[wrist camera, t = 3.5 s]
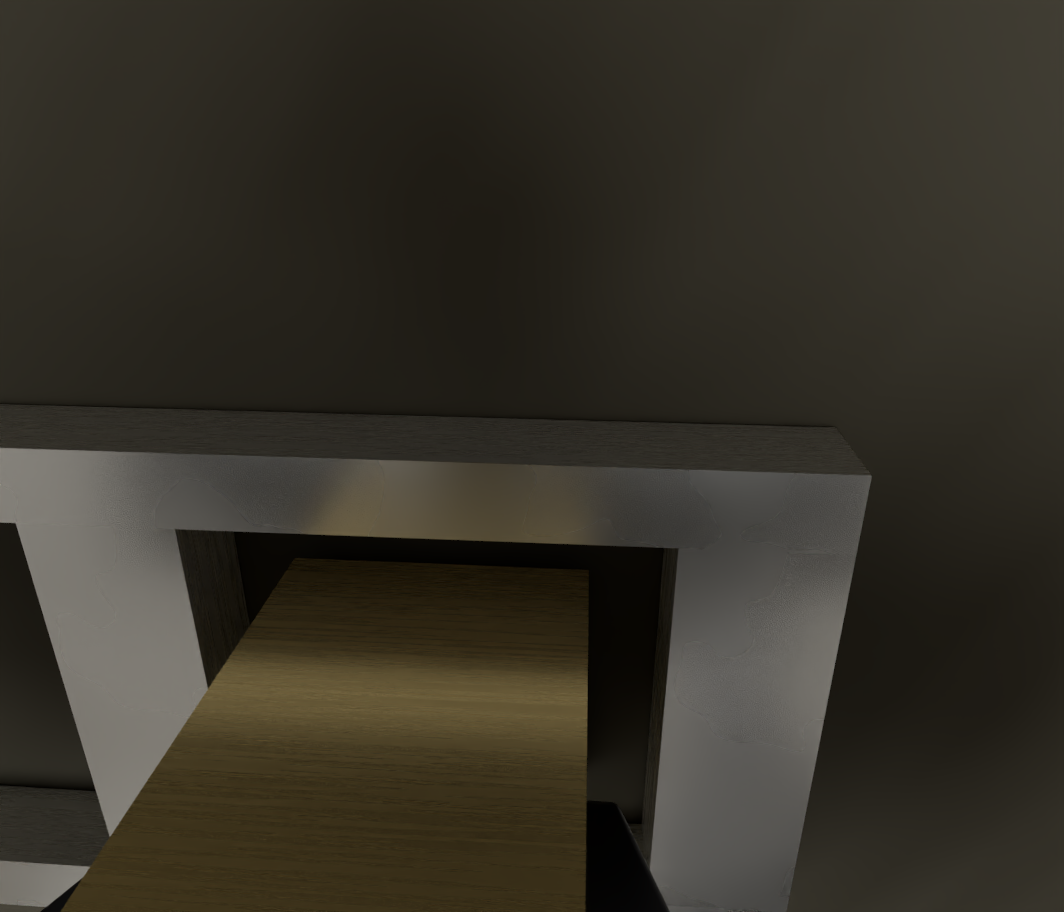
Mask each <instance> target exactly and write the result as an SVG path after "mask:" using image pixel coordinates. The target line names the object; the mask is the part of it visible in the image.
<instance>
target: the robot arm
mask: <svg viewBox="0 0 1064 912" xmlns="http://www.w3.org/2000/svg"><path fill="white" fill-rule="evenodd" d="M81 880H82V878H81V879H80V880H79V881H78V882H76V883H75V884H74V885H73V886H72V887H70V888H69V889H68V890H67V891H65V892H64V893H63V894H62V895H60V896H59V897H58V898H57V899H55V900H54V901H53V902H52V903H50V904H49V905H48V906H47V907H46V908H44V909H43V910H42V911H41V912H61V910H62V909H63V907H64V906H65V904H66V903H67V901H68V899H69V898H70V896H71V895H72V893H73V892H74V890H75V889H76V887H77V886H78V884H79V883H80V881H81ZM585 912H670V910H669V908H668V906H667V904H666V902H665V900H664V898H663V896H662V894H661V892H660V890H659V888H658V886H657V884H656V882H655V879H654V877H653V875H652V873H651V871H650V869H649V867H648V865H647V863H646V861H645V859H644V857H643V855H642V853H641V851H640V849H639V847H638V844H637V842H636V840H635V838H634V836H633V834H632V832H631V830H630V828H629V826H628V824H627V822H626V820H625V818H624V816H623V814H622V811H621V810H620V808H619V807H618V805H617V804H615V803H613V802H601V801H586V891H585Z"/></svg>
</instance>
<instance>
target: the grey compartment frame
mask: <svg viewBox="0 0 1064 912" xmlns="http://www.w3.org/2000/svg"><path fill="white" fill-rule="evenodd" d="M871 478H872V475H871V474H870V472H869V471H868V470H867V468H866V467H865V466H864V464H863V463H862V462H861V460H860V459H859V458H858V456H857V455H856V454H855V452H854V451H853V450H852V448H851V447H850V446H849V445H848V443H847V442H846V441H845V439H844V438H843V437H842V435H841V434H840V433H839V431H838V430H837V429H836V428H832V427H797V426H761V425H725V424H689V423H653V422H618V421H582V420H546V419H510V418H474V417H439V416H403V415H367V414H331V413H295V412H260V411H224V410H188V409H152V408H116V407H81V406H45V405H9V404H0V523H16V526H17V529H18V533H19V536H20V539H21V543H22V546H23V549H24V553H25V556H26V559H27V563H28V566H29V569H30V573H31V576H32V579H33V583H34V586H35V589H36V593H37V596H38V599H39V603H40V606H41V609H42V613H43V616H44V619H45V623H46V626H47V629H48V633H49V636H50V639H51V643H52V646H53V649H54V653H55V656H56V659H57V663H58V666H59V669H60V673H61V676H62V679H63V683H64V686H65V689H66V693H67V696H68V699H69V703H70V706H71V709H72V713H73V716H74V719H75V723H76V726H77V729H78V733H79V736H80V739H81V743H82V746H83V749H84V753H85V756H86V759H87V763H88V766H89V769H90V773H91V776H92V779H93V783H94V786H95V789H96V791H82V790H65V789H49V788H32V787H16V786H0V904H11V905H25V906H39V907H47V906H48V905H49V904H50V903H52V902H53V901H54V900H55V899H57V898H58V897H59V896H60V895H62V894H63V893H64V892H65V891H67V890H68V889H69V888H70V887H72V886H73V885H74V884H75V883H76V882H78V881H79V880H80V879H81V878H83V877H84V875H85V874H86V872H87V871H88V869H89V868H90V866H91V865H92V863H93V862H94V860H95V859H96V857H97V856H98V854H99V853H100V851H101V850H102V848H103V847H104V845H105V844H106V842H107V841H108V839H109V838H110V836H111V835H112V833H113V832H114V830H115V829H116V827H117V826H118V824H119V823H120V821H121V820H122V818H123V817H124V815H125V814H126V812H127V810H128V809H129V807H130V806H131V804H132V803H133V801H134V800H135V798H136V797H137V795H138V794H139V792H140V791H141V789H142V788H143V786H144V785H145V783H146V782H147V780H148V779H149V777H150V776H151V774H152V773H153V771H154V770H155V768H156V767H157V765H158V764H159V762H160V761H161V759H162V758H163V756H164V755H165V753H166V752H167V750H168V749H169V747H170V746H171V744H172V743H173V741H174V740H175V738H176V737H177V735H178V734H179V732H180V731H181V729H182V728H183V726H184V725H185V723H186V721H187V720H188V718H189V717H190V715H191V714H192V712H193V711H194V709H195V708H196V706H197V705H198V703H199V702H200V700H201V699H202V697H203V696H204V694H205V693H206V691H207V690H208V688H209V687H210V685H211V684H212V682H213V681H214V679H215V678H216V676H217V675H218V673H219V672H220V670H221V669H222V667H223V666H224V664H225V663H226V661H227V660H228V658H229V657H230V655H231V654H232V652H233V651H234V649H235V648H236V646H237V645H238V643H239V642H240V640H241V639H242V637H243V636H244V634H245V633H246V631H247V629H248V628H249V626H250V624H249V618H248V612H247V606H246V601H245V595H244V589H243V583H242V578H241V572H240V566H239V560H238V554H237V549H236V543H235V537H234V531H236V532H262V533H288V534H315V535H341V536H367V537H394V538H420V539H446V540H472V541H499V542H525V543H551V544H578V545H604V546H630V547H656V548H664V552H663V564H662V576H661V589H660V601H659V614H658V626H657V638H656V651H655V663H654V675H653V688H652V700H651V713H650V725H649V737H648V750H647V762H646V774H645V787H644V799H643V811H642V824H628V826H629V828H630V830H631V832H632V834H633V836H634V838H635V840H636V842H637V844H638V847H639V849H640V851H641V853H642V855H643V857H644V859H645V861H646V863H647V865H648V867H649V869H650V871H651V873H652V875H653V877H654V879H655V882H656V884H657V886H658V888H659V890H660V892H661V894H662V896H663V898H664V900H665V902H666V904H667V906H668V908H669V910H670V912H786V911H787V906H788V901H789V896H790V891H791V886H792V881H793V875H794V870H795V865H796V860H797V855H798V850H799V845H800V840H801V835H802V830H803V824H804V819H805V814H806V809H807V804H808V799H809V794H810V789H811V784H812V779H813V774H814V768H815V763H816V758H817V753H818V748H819V743H820V738H821V733H822V728H823V723H824V717H825V712H826V707H827V702H828V697H829V692H830V687H831V682H832V677H833V672H834V666H835V661H836V656H837V651H838V646H839V641H840V636H841V631H842V626H843V621H844V615H845V610H846V605H847V600H848V595H849V590H850V585H851V580H852V575H853V570H854V564H855V559H856V554H857V549H858V544H859V539H860V534H861V529H862V524H863V519H864V513H865V508H866V503H867V498H868V493H869V488H870V483H871Z"/></svg>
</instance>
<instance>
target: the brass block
mask: <svg viewBox="0 0 1064 912" xmlns="http://www.w3.org/2000/svg"><path fill="white" fill-rule="evenodd" d="M588 607H589V570H580V569H555V568H531V567H506V566H481V565H457V564H432V563H408V562H383V561H358V560H334V559H309V558H295V559H294V560H293V562H292V563H291V565H290V566H289V568H288V569H287V571H286V572H285V574H284V575H283V577H282V578H281V580H280V581H279V583H278V584H277V586H276V587H275V589H274V590H273V592H272V593H271V595H270V596H269V598H268V599H267V601H266V602H265V604H264V605H263V607H262V608H261V610H260V611H259V613H258V614H257V616H256V617H255V619H254V620H253V622H252V623H251V625H250V626H249V628H248V629H247V631H246V633H245V634H244V636H243V637H242V639H241V640H240V642H239V643H238V645H237V646H236V648H235V649H234V651H233V652H232V654H231V655H230V657H229V658H228V660H227V661H226V663H225V664H224V666H223V667H222V669H221V670H220V672H219V673H218V675H217V676H216V678H215V679H214V681H213V682H212V684H211V685H210V687H209V688H208V690H207V691H206V693H205V694H204V696H203V697H202V699H201V700H200V702H199V703H198V705H197V706H196V708H195V709H194V711H193V712H192V714H191V715H190V717H189V718H188V720H187V721H186V723H185V725H184V726H183V728H182V729H181V731H180V732H179V734H178V735H177V737H176V738H175V740H174V741H173V743H172V744H171V746H170V747H169V749H168V750H167V752H166V753H165V755H164V756H163V758H162V759H161V761H160V762H159V764H158V765H157V767H156V768H155V770H154V771H153V773H152V774H151V776H150V777H149V779H148V780H147V782H146V783H145V785H144V786H143V788H142V789H141V791H140V792H139V794H138V795H137V797H136V798H135V800H134V801H133V803H132V804H131V806H130V807H129V809H128V810H127V812H126V814H125V815H124V817H123V818H122V820H121V821H120V823H119V824H118V826H117V827H116V829H115V830H114V832H113V833H112V835H111V836H110V838H109V839H108V841H107V842H106V844H105V845H104V847H103V848H102V850H101V851H100V853H99V854H98V856H97V857H96V859H95V860H94V862H93V863H92V865H91V866H90V868H89V869H88V871H87V872H86V874H85V875H84V877H83V878H82V880H81V881H80V883H79V884H78V886H77V887H76V889H75V890H74V892H73V893H72V895H71V896H70V898H69V899H68V901H67V903H66V904H65V906H64V907H63V909H62V910H61V912H585V891H586V796H587V701H588Z"/></svg>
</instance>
